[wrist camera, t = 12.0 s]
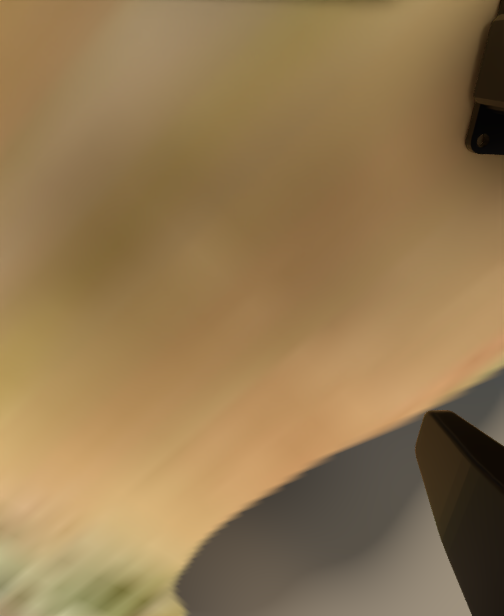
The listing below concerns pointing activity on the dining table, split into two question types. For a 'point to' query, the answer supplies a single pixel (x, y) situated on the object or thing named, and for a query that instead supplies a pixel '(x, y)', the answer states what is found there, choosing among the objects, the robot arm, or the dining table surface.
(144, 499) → the dining table surface
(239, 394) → the dining table surface
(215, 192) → the dining table surface
